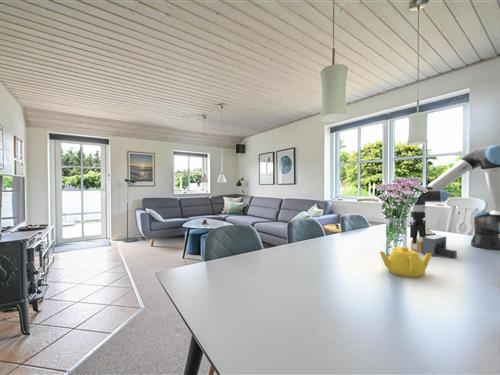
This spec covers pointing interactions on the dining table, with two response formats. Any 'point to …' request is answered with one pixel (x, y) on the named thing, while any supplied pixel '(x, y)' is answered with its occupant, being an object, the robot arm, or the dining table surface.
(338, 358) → the dining table surface
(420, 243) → the plug
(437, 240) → the housing
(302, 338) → the dining table surface
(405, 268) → the teapot
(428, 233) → the teacup with lid
